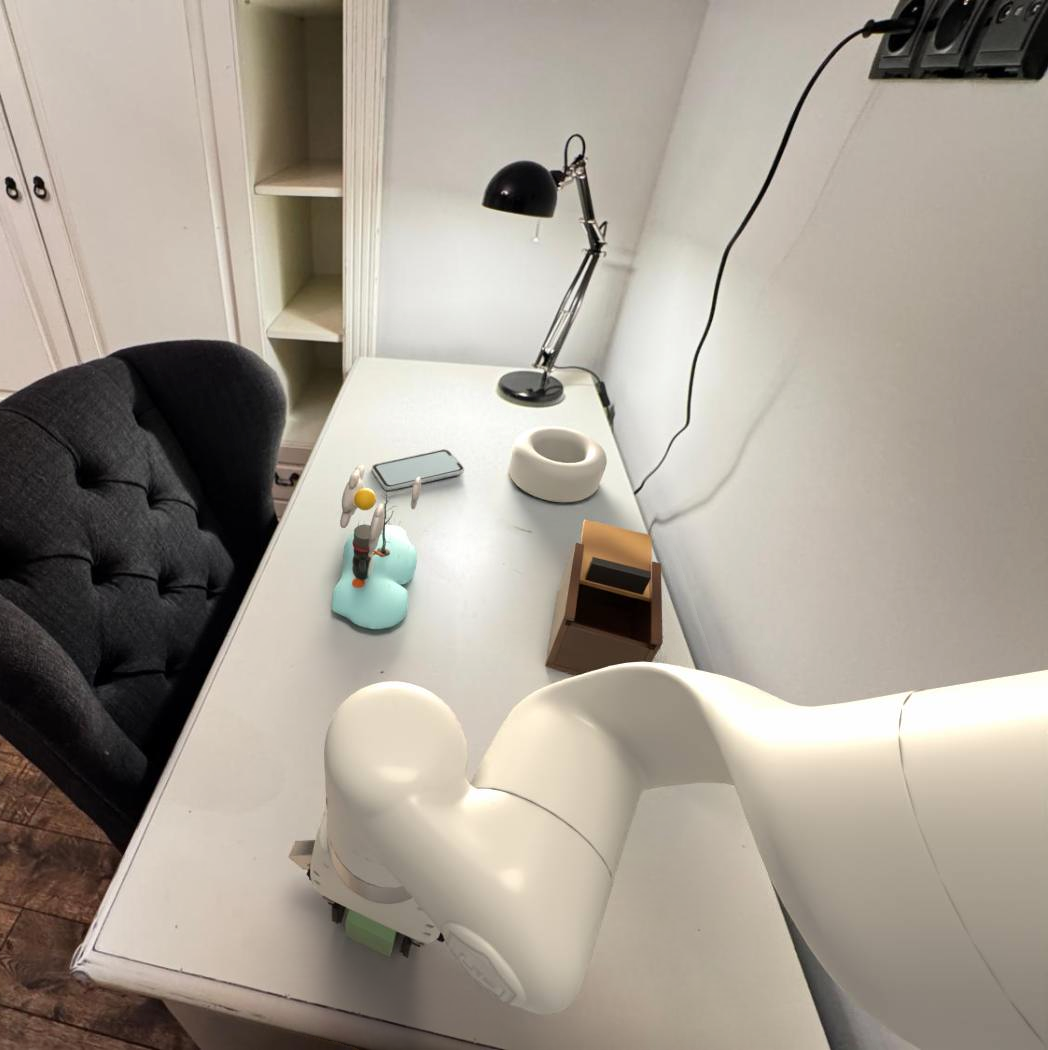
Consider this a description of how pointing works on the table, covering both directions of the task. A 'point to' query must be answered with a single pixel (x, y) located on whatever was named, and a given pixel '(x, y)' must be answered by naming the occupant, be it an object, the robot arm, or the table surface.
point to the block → (370, 933)
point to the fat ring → (557, 464)
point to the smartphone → (417, 469)
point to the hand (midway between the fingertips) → (375, 918)
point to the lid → (616, 560)
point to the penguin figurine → (374, 561)
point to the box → (602, 623)
